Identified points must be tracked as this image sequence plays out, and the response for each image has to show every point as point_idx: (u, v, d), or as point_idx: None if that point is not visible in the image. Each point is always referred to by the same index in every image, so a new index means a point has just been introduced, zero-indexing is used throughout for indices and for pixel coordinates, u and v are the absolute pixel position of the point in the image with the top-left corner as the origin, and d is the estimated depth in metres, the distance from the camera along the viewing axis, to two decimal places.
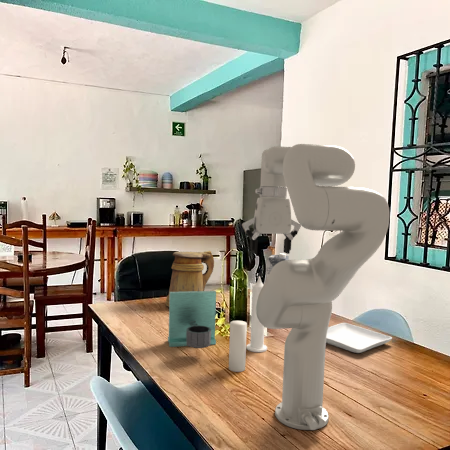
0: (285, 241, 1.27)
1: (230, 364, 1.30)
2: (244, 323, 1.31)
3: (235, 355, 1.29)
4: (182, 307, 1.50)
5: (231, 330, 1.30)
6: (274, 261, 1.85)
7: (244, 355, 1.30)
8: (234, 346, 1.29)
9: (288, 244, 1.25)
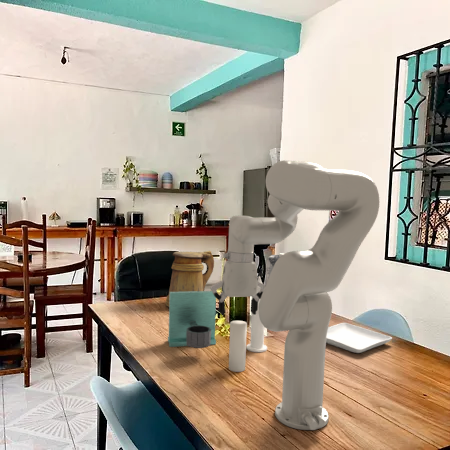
0: (252, 302, 1.32)
1: (230, 364, 1.30)
2: (244, 323, 1.31)
3: (236, 355, 1.29)
4: (182, 307, 1.50)
5: (231, 330, 1.30)
6: (274, 261, 1.85)
7: (244, 355, 1.30)
8: (234, 346, 1.29)
9: (254, 305, 1.30)
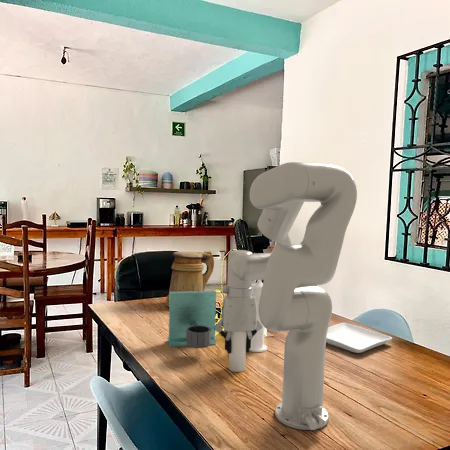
0: None
1: (230, 364, 1.30)
2: None
3: (235, 355, 1.29)
4: (182, 307, 1.50)
5: None
6: None
7: (244, 355, 1.30)
8: (234, 346, 1.29)
9: (247, 344, 1.30)
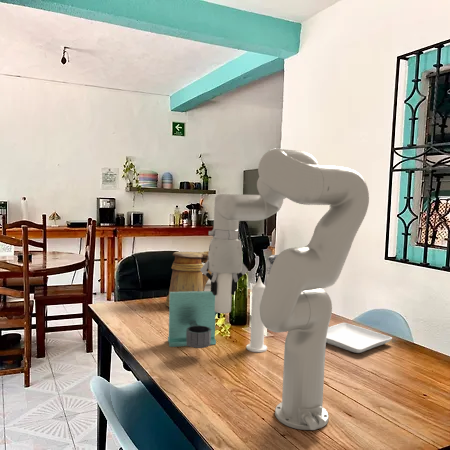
0: None
1: (216, 306, 1.33)
2: None
3: (221, 297, 1.31)
4: (182, 307, 1.50)
5: None
6: None
7: (229, 297, 1.32)
8: (220, 287, 1.31)
9: (233, 286, 1.33)
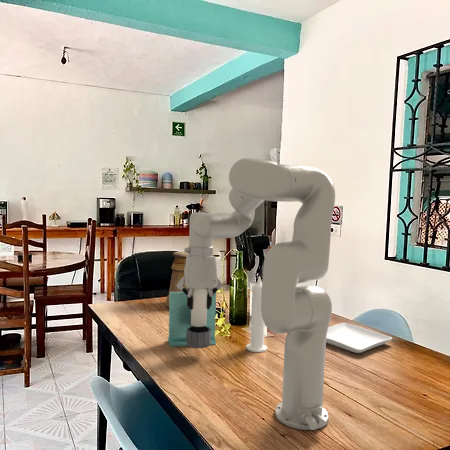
0: None
1: (192, 320, 1.38)
2: None
3: (196, 311, 1.37)
4: (182, 307, 1.50)
5: None
6: None
7: (205, 311, 1.38)
8: (195, 302, 1.37)
9: (208, 300, 1.38)
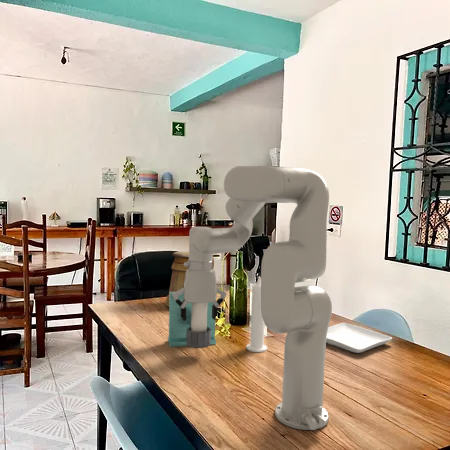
0: (212, 308, 1.40)
1: None
2: None
3: (196, 329, 1.37)
4: None
5: (192, 305, 1.38)
6: None
7: (205, 328, 1.38)
8: (195, 319, 1.37)
9: (214, 311, 1.39)
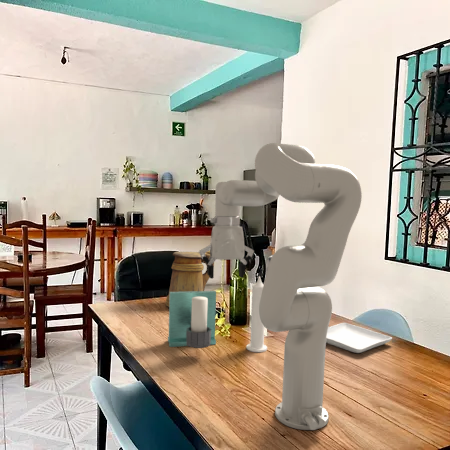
0: (240, 266, 1.36)
1: None
2: (205, 298, 1.39)
3: (196, 329, 1.37)
4: (182, 307, 1.50)
5: (192, 305, 1.38)
6: None
7: (205, 328, 1.38)
8: (195, 319, 1.37)
9: (242, 269, 1.35)
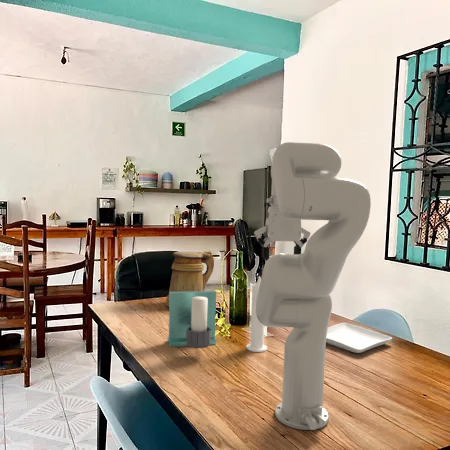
0: (295, 248, 1.31)
1: None
2: (205, 298, 1.39)
3: (196, 329, 1.37)
4: (182, 307, 1.50)
5: (192, 305, 1.38)
6: None
7: (205, 328, 1.38)
8: (195, 319, 1.37)
9: (298, 251, 1.30)
